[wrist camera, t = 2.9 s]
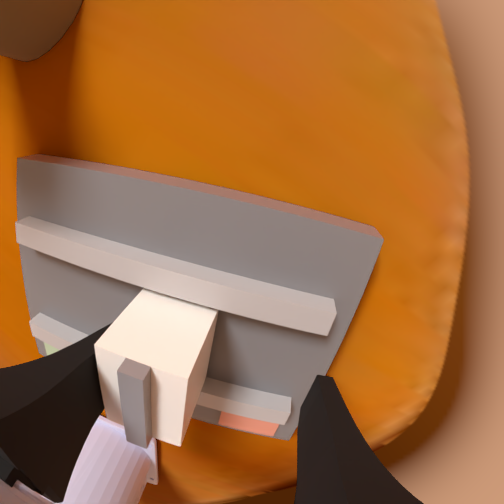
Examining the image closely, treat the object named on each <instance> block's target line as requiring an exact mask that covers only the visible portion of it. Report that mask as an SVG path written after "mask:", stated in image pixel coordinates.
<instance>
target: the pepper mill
mask: <svg viewBox="0 0 504 504" xmlns="http://www.w3.org/2000/svg"><path fill="white" fill-rule="evenodd" d="M81 4H82V0H0V55H2V56H5V57H9V58H12V59H16V60H20V61H25V62H28V61H31V60H34V59H38V58H39V57H40V56H42V55H43V54H45V53H46V52H48V51H49V50H50V49H51V48H52V47H53V46H54V45H55V44H56V43H57V42H58V41H59V40H60V39H61V38H62V37H63V35H64V34H65V32H66V31H67V29H68V28H69V26H70V25H71V24H72V22H73V21H74V18H75V16H76V14H77V12H78V10H79V8H80V6H81Z"/></svg>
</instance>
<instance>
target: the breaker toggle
mask: <svg viewBox="0 0 504 504" xmlns="http://www.w3.org/2000/svg"><path fill="white" fill-rule="evenodd" d="M218 311H219V310H218V309H214V308H211V307H207V306H204V305H200V304H196V303H193V302H189V301H186V300H183V299H179V298H176V297H172V296H169V295H166V294H162V293H159V292H156V291H153V290H149V289H146V288H143V289H142V291H141V292H140V293H139V294H138V295H137V296H136V297H135V298H134V299H133V301H132V302H131V303H130V304H129V305H128V306H127V307H126V308H125V310H124V311H123V312H122V313H121V314H120V315H119V316H118V318H117V319H116V320H115V321H114V322H113V323H112V324H111V326H110V327H109V328H108V329H107V330H106V331H105V333H104V334H103V335H102V336H101V337H100V338H99V340H98V341H97V342H96V343H95V344H94V347H95V355H96V362H97V369H98V375H99V381H100V387H101V392H102V397H103V403H104V408H105V412H106V417H107V419H108V420H110V421H113V422H115V423H117V424H120V425H122V426H124V428H125V434H126V440H127V442H130V443H132V444H135V445H137V446H140V447H143V448H145V449H147V448H148V446H149V443H150V441H151V439H152V437H153V438H156V439H159V440H162V441H164V442H167V443H170V444H173V445H177V446H180V447H181V444H182V441H183V439H184V436H185V433H186V430H187V428H188V425H189V422H190V420H191V417H192V414H193V411H194V409H195V406H196V403H197V400H198V398H199V395H200V392H201V390H202V387H203V384H204V381H205V379H206V375H207V369H208V364H209V358H210V353H211V348H212V343H213V337H214V332H215V327H216V322H217V316H218Z"/></svg>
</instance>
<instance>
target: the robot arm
mask: <svg viewBox="0 0 504 504" xmlns="http://www.w3.org/2000/svg"><path fill="white" fill-rule="evenodd" d="M112 323H113V322H112ZM112 323H110V324H109V325H107V326H105V327H103V328H101V329H100V330H98V331H96V332H94V333H92V334H91V335H89V336H87V337H85V338H83V339H81V340H80V341H78V342H76V343H74V344H72V345H70V346H67V347H65V348H63V349H61V350H59V351H57V352H55V353H52V354H50V355H47V356H45V357H42V358H39V359H36V360H33V361H30V362H27V363H23V364H19V365H15V366H11V367H7V368H1V369H0V504H138V503H139V500H140V498H141V495H142V493H143V490H144V488H145V486H146V483H147V482H148V483H151V484H154V485H157V484H158V465H157V441H156V439H155V438H153V437H152V439H151V441H150V443H149V446H148V448H147V449H145V448H143V447H140V446H137V445H135V444H132V443H130V442H127V440H126V434H125V428H124V426H122V425H120V424H117V423H115V422H113V421H110V420H108V419H107V418H105V417H103V416H101V415H100V414H101V413H102V411H103V410H104V403H103V397H102V392H101V387H100V381H99V375H98V369H97V362H96V355H95V347H94V344H95V343H96V342H97V341H98V340H99V338H100V337H101V336H102V335H103V334H104V333H105V331H106V330H107V329H108V328H109V327H110V326H111V324H112ZM294 504H423V503H422V502H421V501H419V500H418V499H417V498H415V497H414V496H413V495H412V494H411V493H410V492H408V491H407V490H406V489H405V488H404V487H403V486H402V485H401V484H400V483H399V482H398V481H397V480H396V479H395V478H394V477H393V476H392V475H391V473H390V472H389V471H388V470H387V469H386V468H385V467H384V466H383V464H382V463H381V462H380V461H379V459H378V458H377V457H376V455H375V454H374V453H373V451H372V450H371V448H370V447H369V445H368V444H367V442H366V441H365V439H364V438H363V436H362V434H361V433H360V431H359V429H358V427H357V426H356V424H355V422H354V420H353V418H352V416H351V414H350V413H349V411H348V409H347V407H346V405H345V403H344V400H343V398H342V396H341V394H340V392H339V390H338V388H337V386H336V383H335V381H334V379H333V378H332V377H328V376H323V375H317V376H316V378H315V380H314V382H313V384H312V386H311V388H310V390H309V392H308V394H307V396H306V398H305V400H304V402H303V404H302V405H301V407H300V414H299V422H298V432H297V487H296V495H295V501H294Z"/></svg>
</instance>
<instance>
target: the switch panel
mask: <svg viewBox="0 0 504 504" xmlns="http://www.w3.org/2000/svg"><path fill="white" fill-rule="evenodd" d="M17 218H18V221H17V222H15V225H16V239H17V243H19V246H20V255H21V264H22V272H23V279H24V285H25V291H26V297H27V303H28V308H29V313H30V318H31V320H30V321H29V323H30V327H31V331H32V335H33V336H34V337H35V339H36V343H37V347H38V351H39V354H41V355H43V356H47V355H50V354H52V353H55V352H57V351H59V350H61V349H63V348H65V347H67V346H70V345H72V344H74V343H76V342H78V341H80V340H81V339H83V338H85V337H87V336H89V335H91V334H92V333H94V332H96V331H98V330H100V329H101V328H103V327H105V326H107V325H109V324H110V323H112V322H114V321H115V320H116V319H117V318H118V316H119V315H120V314H121V313H122V312H123V311H124V310H125V308H126V307H127V306H128V305H129V304H130V303H131V302H132V301H133V299H134V298H135V297H136V296H137V295H138V294H139V293H140V292H141V291H142V289H143V288H146V289H149V290H153V291H156V292H159V293H162V294H166V295H169V296H172V297H176V298H179V299H183V300H186V301H189V302H193V303H196V304H200V305H204V306H207V307H211V308H214V309H218V310H219V311H218V316H217V322H216V327H215V332H214V337H213V343H212V348H211V353H210V358H209V364H208V369H207V375H206V379H205V381H204V384H203V387H202V390H201V392H200V395H199V398H198V400H197V403H196V406H195V409H194V411H193V414H192V417H191V418H194V419H197V420H200V421H204V422H208V423H211V424H215V425H219V426H222V427H226V428H230V429H235V430H239V431H243V432H247V433H252V434H257V435H262V436H267V437H272V438H277V439H283V440H290V438H291V436H292V435H293V433H294V431H295V429H296V428H297V426H298V422H299V414H300V407H301V405H302V404H303V402H304V400H305V398H306V396H307V394H308V392H309V390H310V388H311V386H312V384H313V382H314V380H315V378H316V376H317V375H323V376H325V375H326V373H327V371H328V369H329V367H330V365H331V363H332V361H333V359H334V357H335V355H336V353H337V351H338V349H339V347H340V344H341V342H342V340H343V338H344V336H345V334H346V332H347V329H348V327H349V325H350V323H351V321H352V318H353V316H354V314H355V311H356V309H357V307H358V304H359V302H360V300H361V297H362V295H363V293H364V290H365V288H366V285H367V283H368V280H369V278H370V275H371V273H372V270H373V268H374V265H375V262H376V260H377V257H378V254H379V252H380V249H381V246H382V243H383V241H384V239H383V237H382V236H381V235H380V234H379V232H378V231H377V230H376V229H375V227H373V226H370V225H366V224H363V223H359V222H356V221H353V220H349V219H346V218H342V217H338V216H335V215H331V214H328V213H324V212H320V211H317V210H313V209H309V208H305V207H302V206H298V205H294V204H290V203H286V202H282V201H278V200H274V199H270V198H266V197H262V196H258V195H254V194H250V193H246V192H241V191H237V190H233V189H228V188H224V187H220V186H215V185H211V184H206V183H201V182H197V181H192V180H187V179H183V178H178V177H173V176H168V175H163V174H158V173H153V172H147V171H142V170H137V169H131V168H126V167H120V166H114V165H109V164H103V163H97V162H90V161H84V160H78V159H71V158H64V157H58V156H50V155H43V154H34V155H30V156H25V157H20V158H17Z"/></svg>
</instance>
